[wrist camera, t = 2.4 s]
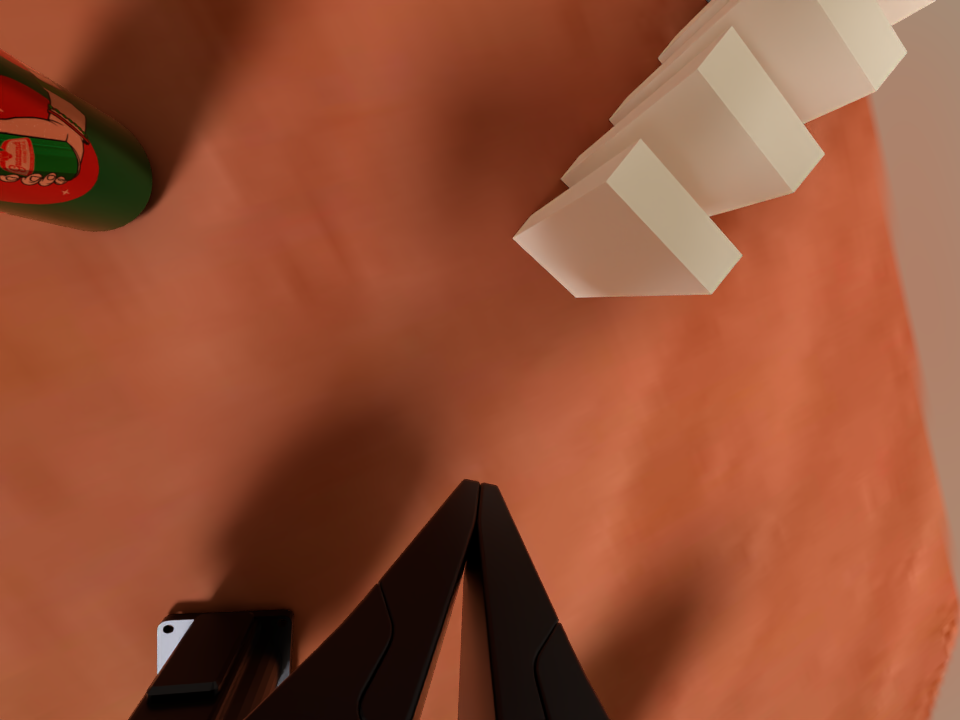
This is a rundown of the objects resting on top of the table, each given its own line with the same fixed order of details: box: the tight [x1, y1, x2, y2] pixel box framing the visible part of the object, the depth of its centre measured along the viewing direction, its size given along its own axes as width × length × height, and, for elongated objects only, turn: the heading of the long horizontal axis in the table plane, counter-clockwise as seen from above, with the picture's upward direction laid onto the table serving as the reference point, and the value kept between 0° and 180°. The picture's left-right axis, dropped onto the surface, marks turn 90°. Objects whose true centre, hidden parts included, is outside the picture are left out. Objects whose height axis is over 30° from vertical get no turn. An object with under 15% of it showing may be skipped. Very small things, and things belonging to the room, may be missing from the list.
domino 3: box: [609, 0, 907, 126], centre depth 16 cm, size 2×5×10 cm, turn 50°
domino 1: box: [512, 139, 743, 298], centre depth 16 cm, size 2×5×10 cm, turn 50°
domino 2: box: [561, 26, 825, 217], centre depth 16 cm, size 2×5×10 cm, turn 50°
